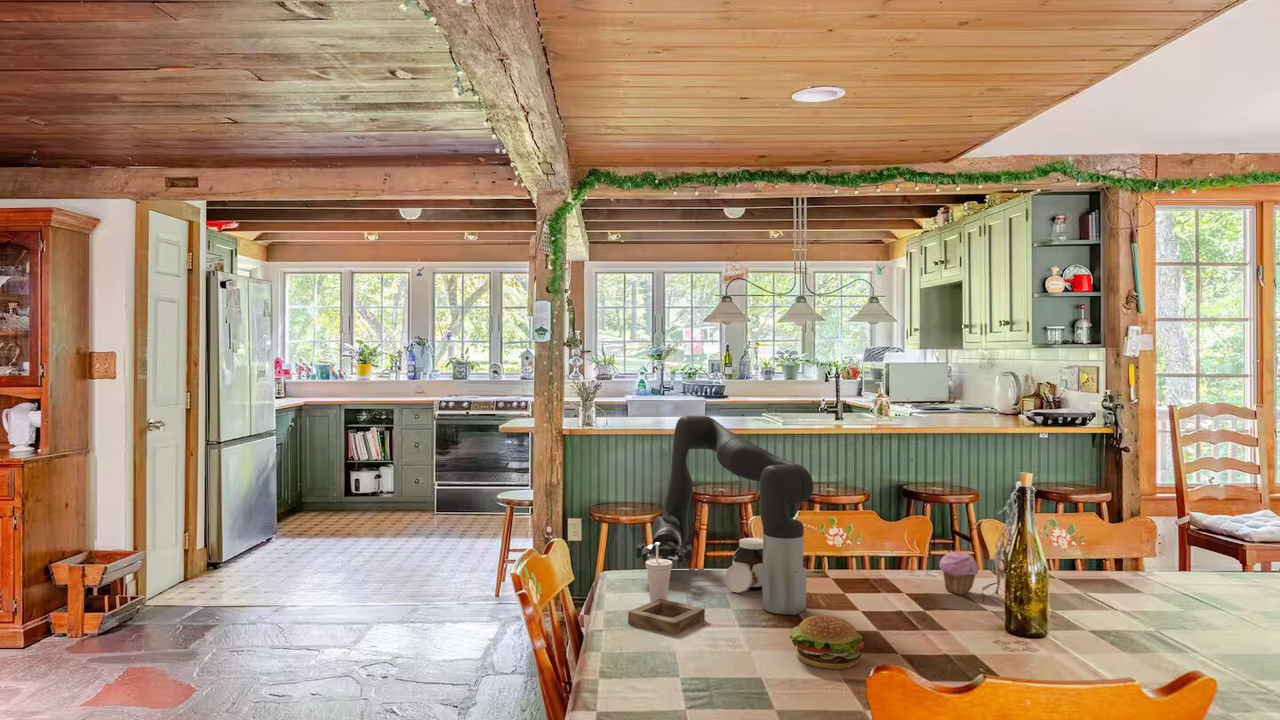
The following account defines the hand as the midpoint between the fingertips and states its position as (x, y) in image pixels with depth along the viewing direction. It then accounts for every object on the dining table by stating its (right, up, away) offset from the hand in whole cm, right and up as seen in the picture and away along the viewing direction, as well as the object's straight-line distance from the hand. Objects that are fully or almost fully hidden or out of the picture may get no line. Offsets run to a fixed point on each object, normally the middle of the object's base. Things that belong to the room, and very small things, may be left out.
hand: (662, 558), depth 200 cm
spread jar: (+22, -8, +2) cm, 23 cm away
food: (+30, -9, -45) cm, 54 cm away
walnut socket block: (0, -8, -24) cm, 26 cm away
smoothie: (-1, -8, -11) cm, 14 cm away
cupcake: (+74, -9, +1) cm, 75 cm away
